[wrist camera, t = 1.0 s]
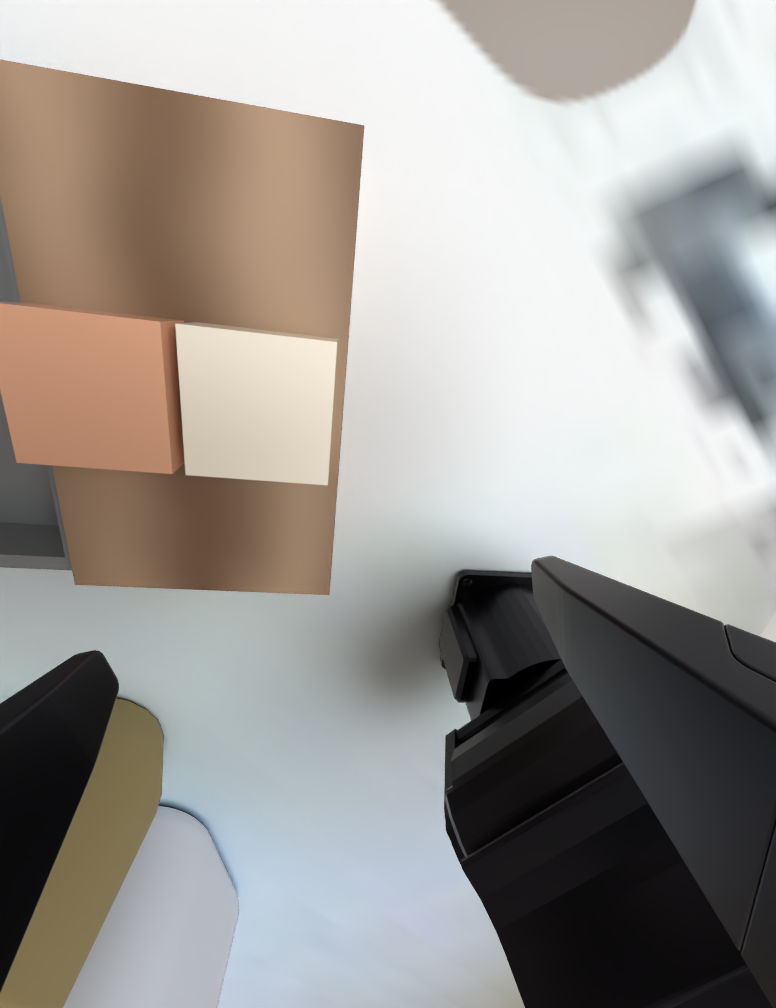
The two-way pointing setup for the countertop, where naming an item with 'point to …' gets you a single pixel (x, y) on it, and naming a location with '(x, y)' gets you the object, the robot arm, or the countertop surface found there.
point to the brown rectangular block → (184, 296)
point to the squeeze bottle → (91, 861)
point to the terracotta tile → (91, 388)
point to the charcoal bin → (26, 478)
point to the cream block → (256, 403)
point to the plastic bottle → (164, 925)
